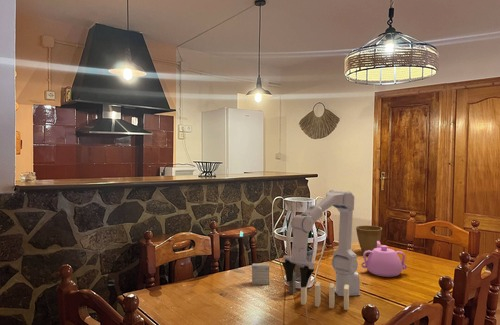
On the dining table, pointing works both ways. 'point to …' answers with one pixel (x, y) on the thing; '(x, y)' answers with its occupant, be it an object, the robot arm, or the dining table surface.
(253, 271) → the medicine box
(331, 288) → the domino
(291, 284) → the domino
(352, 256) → the robot arm
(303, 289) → the domino
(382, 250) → the teapot
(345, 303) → the domino
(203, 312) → the dining table surface
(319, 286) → the domino
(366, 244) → the plant pot
